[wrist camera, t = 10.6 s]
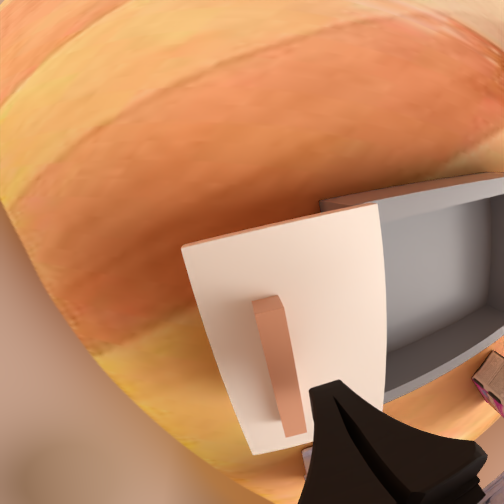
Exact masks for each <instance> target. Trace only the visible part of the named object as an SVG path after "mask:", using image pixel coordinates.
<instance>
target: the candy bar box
mask: <svg viewBox="0 0 504 504" xmlns="http://www.w3.org/2000/svg"><path fill="white" fill-rule="evenodd" d="M472 380H473V382H474V383H475V385H476V386H477V388H478V389H479V391H480V392H481V394H482V396H483V397H484V399H485V401H486V402H487V403H489V404H490V405H491V406H492V407H493V408H494V409H495V410H496V411H497V412H498V413H499V414H500V415H501V416H503V417H504V357H503V356H501V355H500V354H499V353H497V352H496V351H494V350H493V351H492V352H491V353H490V354H489V356H488V357H487V358H486V360H485V361H484V363H483V364H482V365H481V367H480V368H479V369H478V371H477V372H476V373H475V374H474V376H473V377H472Z"/></svg>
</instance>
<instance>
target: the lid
mask: <svg viewBox="0 0 504 504" xmlns="http://www.w3.org/2000/svg"><path fill="white" fill-rule="evenodd" d="M181 251H182V255H183V258H184V262H185V265H186V269H187V272H188V276H189V279H190V283H191V286H192V289H193V293H194V296H195V299H196V302H197V306H198V309H199V312H200V315H201V318H202V321H203V325H204V328H205V331H206V334H207V337H208V340H209V343H210V346H211V348H212V351H213V354H214V357H215V360H216V363H217V366H218V368H219V371H220V374H221V377H222V379H223V382H224V385H225V388H226V390H227V393H228V395H229V398H230V401H231V403H232V406H233V408H234V411H235V413H236V416H237V418H238V421H239V423H240V426H241V428H242V431H243V433H244V436H245V438H246V440H247V443H248V445H249V447H250V450H251V452H252V454H253V455H258V454H263V453H268V452H273V451H277V450H282V449H286V448H290V447H294V446H298V445H302V444H306V443H309V442H313V436H314V421H313V417H312V411H311V404H310V397H309V389H310V388H312V387H316V386H319V385H322V384H326V383H329V382H332V381H335V380H338V379H339V380H341V381H342V382H343V383H345V384H346V385H347V386H348V387H349V388H350V389H351V390H353V391H354V392H355V393H356V394H358V395H359V396H360V397H361V398H363V399H364V400H365V401H367V402H368V403H370V404H371V405H373V406H374V407H375V408H377V409H378V410H380V411H382V410H383V400H384V388H385V373H386V347H387V311H386V284H385V268H384V255H383V244H382V235H381V226H380V218H379V211H378V204H376V203H365V204H360V205H355V206H350V207H346V208H341V209H336V210H331V211H327V212H322V213H317V214H313V215H308V216H304V217H299V218H295V219H290V220H286V221H281V222H277V223H272V224H268V225H264V226H259V227H255V228H251V229H246V230H242V231H238V232H233V233H229V234H225V235H221V236H217V237H212V238H208V239H204V240H200V241H196V242H192V243H188V244H184V245H183V246H182V247H181Z"/></svg>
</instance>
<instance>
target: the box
mask: <svg viewBox="0 0 504 504" xmlns="http://www.w3.org/2000/svg"><path fill="white" fill-rule="evenodd" d="M365 203H376V204H378V211H379V218H380V226H381V235H382V244H383V255H384V268H385V284H386V311H387V347H386V373H385V388H384V400H383V404H385V403H387V402H390V401H392V400H394V399H396V398H399V397H401V396H403V395H405V394H407V393H409V392H411V391H413V390H415V389H417V388H419V387H421V386H423V385H425V384H427V383H429V382H431V381H433V380H435V379H437V378H438V377H440V376H442V375H444V374H445V373H447V372H449V371H451V370H452V369H454V368H456V367H457V366H459V365H461V364H462V363H464V362H466V361H467V360H469V359H470V358H472V357H473V356H475V355H476V354H478V353H479V352H481V351H482V350H484V349H485V348H487V347H488V346H490V345H491V344H492V343H494V342H495V341H497V340H498V339H499V338H501V337H502V336H503V335H504V173H502V172H483V173H475V174H468V175H461V176H454V177H448V178H441V179H435V180H428V181H422V182H416V183H410V184H404V185H399V186H393V187H387V188H382V189H376V190H371V191H365V192H360V193H355V194H349V195H344V196H339V197H334V198H329V199H324V200H319V205H320V210H321V213H322V212H327V211H331V210H336V209H341V208H346V207H350V206H355V205H360V204H365Z"/></svg>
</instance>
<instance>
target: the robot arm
mask: <svg viewBox="0 0 504 504" xmlns="http://www.w3.org/2000/svg"><path fill="white" fill-rule="evenodd" d="M309 397H310V404H311V411H312V417H313V421H314V436H313V447H310V448H306V449H304V450H303V451H302V456H303V461H304V465H305V470H306V475H304V478H305V484H304V487H303V490H302V493H301V496H300V499H299V502H298V504H504V472H503V473H502V474H500V475H499V476H498V477H497V478H496V479H495V480H493V481H492V482H491V483H490V484H489V485H487V486H486V487H485V488H483V489H481V487H480V486H479V485H478V483H479V482H480V479H479V478H478V477H477V474H478V472H479V471H480V469H481V468H482V467H483V465H484V464H485V462H486V460H487V456H488V455H487V454H486V453H485V451H484V450H483V449H482V448H481V447H480V446H479V445H478V444H477V443H476V442H474V441H469V440H459V439H452V438H447V437H442V436H438V435H434V434H431V433H428V432H424V431H421V430H418V429H416V428H413V427H411V426H408V425H406V424H404V423H402V422H400V421H398V420H396V419H394V418H392V417H390V416H388V415H387V414H385V413H383V412H382V411H380V410H378V409H377V408H375V407H374V406H373V405H371V404H370V403H368V402H367V401H365V400H364V399H363V398H361V397H360V396H359V395H358V394H356V393H355V392H354V391H353V390H351V389H350V388H349V387H348V386H347V385H346V384H345V383H343V382H342V381H341V380H339V379H338V380H335V381H332V382H329V383H326V384H322V385H319V386H316V387H312V388H310V389H309Z"/></svg>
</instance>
